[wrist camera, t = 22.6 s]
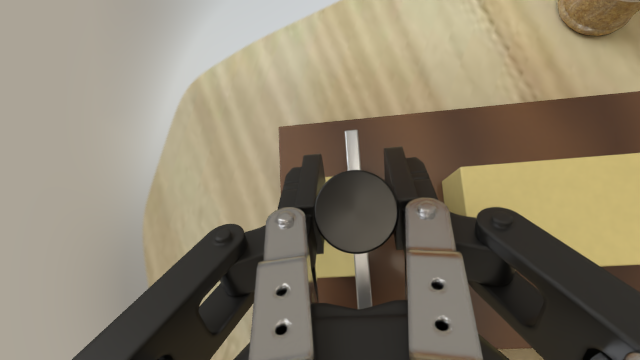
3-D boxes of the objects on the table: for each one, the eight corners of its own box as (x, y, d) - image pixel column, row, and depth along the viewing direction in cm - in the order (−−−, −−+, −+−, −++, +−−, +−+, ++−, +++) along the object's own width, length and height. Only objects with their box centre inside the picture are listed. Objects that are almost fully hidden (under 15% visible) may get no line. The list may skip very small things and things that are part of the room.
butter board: (291, 344, 21) (285, 352, 20) (283, 133, 24) (278, 126, 22) (680, 337, 18) (707, 345, 17) (622, 101, 21) (642, 90, 20)
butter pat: (325, 271, 20) (316, 278, 16) (320, 189, 21) (310, 177, 17) (358, 269, 20) (357, 276, 16) (352, 187, 21) (349, 174, 17)
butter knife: (388, 294, 19) (413, 350, 9) (343, 296, 19) (321, 352, 10) (376, 159, 21) (385, 85, 11) (334, 163, 21) (307, 94, 11)
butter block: (451, 265, 19) (474, 272, 15) (441, 181, 20) (459, 166, 16) (642, 257, 18) (719, 261, 14) (621, 167, 19) (688, 148, 15)
